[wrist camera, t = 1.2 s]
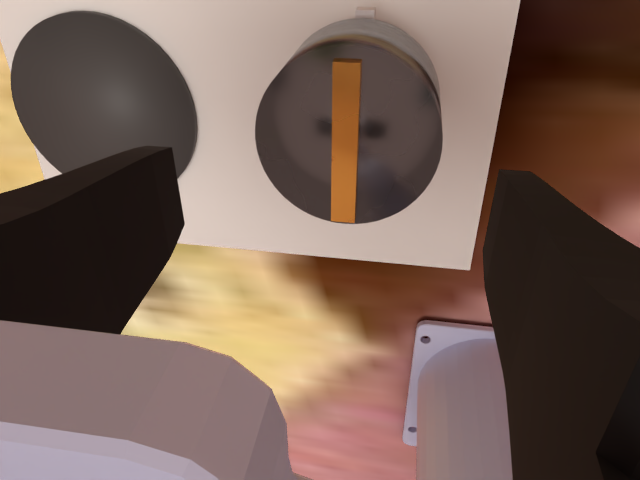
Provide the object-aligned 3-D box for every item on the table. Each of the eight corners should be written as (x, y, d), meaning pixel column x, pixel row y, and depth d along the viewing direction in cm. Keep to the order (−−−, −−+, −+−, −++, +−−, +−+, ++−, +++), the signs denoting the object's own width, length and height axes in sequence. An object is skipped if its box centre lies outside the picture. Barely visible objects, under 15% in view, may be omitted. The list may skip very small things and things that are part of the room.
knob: (430, 178, 19) (431, 238, 16) (285, 168, 19) (257, 223, 16) (450, 20, 16) (456, 54, 13) (279, 15, 17) (243, 46, 13)
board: (468, 262, 25) (474, 313, 22) (68, 226, 27) (24, 266, 24) (542, -137, 16) (568, -142, 13) (-42, -131, 19) (-127, -134, 16)
